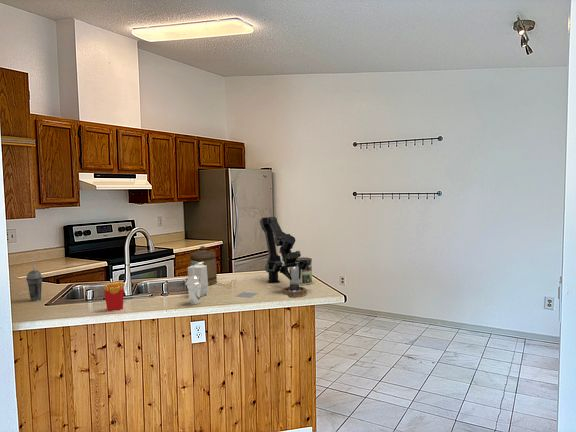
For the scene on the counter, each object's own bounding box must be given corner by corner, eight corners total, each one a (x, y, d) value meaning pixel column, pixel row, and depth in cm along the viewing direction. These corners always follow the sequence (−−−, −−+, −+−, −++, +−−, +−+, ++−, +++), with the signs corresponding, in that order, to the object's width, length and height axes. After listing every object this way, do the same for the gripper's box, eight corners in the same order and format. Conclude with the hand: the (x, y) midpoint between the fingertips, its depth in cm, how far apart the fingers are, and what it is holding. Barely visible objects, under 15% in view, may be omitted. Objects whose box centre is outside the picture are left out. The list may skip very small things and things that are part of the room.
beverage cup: (27, 302, 220) (24, 263, 219) (28, 299, 227) (25, 261, 225) (43, 300, 224) (41, 262, 222) (44, 297, 230) (41, 260, 229)
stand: (242, 293, 231) (242, 292, 231) (258, 295, 228) (258, 293, 228) (234, 298, 223) (234, 296, 223) (250, 299, 219) (250, 297, 219)
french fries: (105, 311, 204) (103, 284, 202) (105, 309, 208) (104, 282, 206) (126, 309, 207) (124, 282, 205) (126, 307, 211) (124, 280, 209)
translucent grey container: (186, 283, 256) (184, 246, 254) (206, 279, 267) (204, 243, 265) (202, 287, 246) (200, 249, 244) (222, 282, 257) (221, 245, 256)
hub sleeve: (285, 291, 228) (284, 267, 227) (292, 288, 234) (292, 264, 233) (296, 293, 224) (296, 268, 223) (303, 290, 230) (303, 265, 229)
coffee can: (313, 281, 258) (312, 257, 257) (310, 285, 248) (310, 260, 247) (296, 280, 260) (295, 257, 259) (292, 284, 250) (292, 260, 249)
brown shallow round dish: (279, 291, 234) (279, 287, 234) (303, 290, 237) (303, 285, 237) (285, 298, 221) (285, 293, 221) (309, 296, 224) (309, 291, 224)
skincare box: (208, 294, 232) (207, 265, 230) (201, 297, 226) (200, 267, 224) (195, 292, 235) (194, 264, 234) (188, 295, 229) (187, 266, 228)
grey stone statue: (187, 301, 219) (185, 261, 218) (205, 300, 220) (204, 261, 218) (184, 305, 211) (183, 264, 209) (203, 305, 212) (202, 264, 210)
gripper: (274, 247, 227) (282, 272, 218) (306, 244, 234) (316, 268, 225) (269, 259, 235) (277, 284, 226) (301, 256, 242) (309, 280, 233)
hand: (295, 279), depth 227 cm, fingers closed on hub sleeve, 5 cm apart
